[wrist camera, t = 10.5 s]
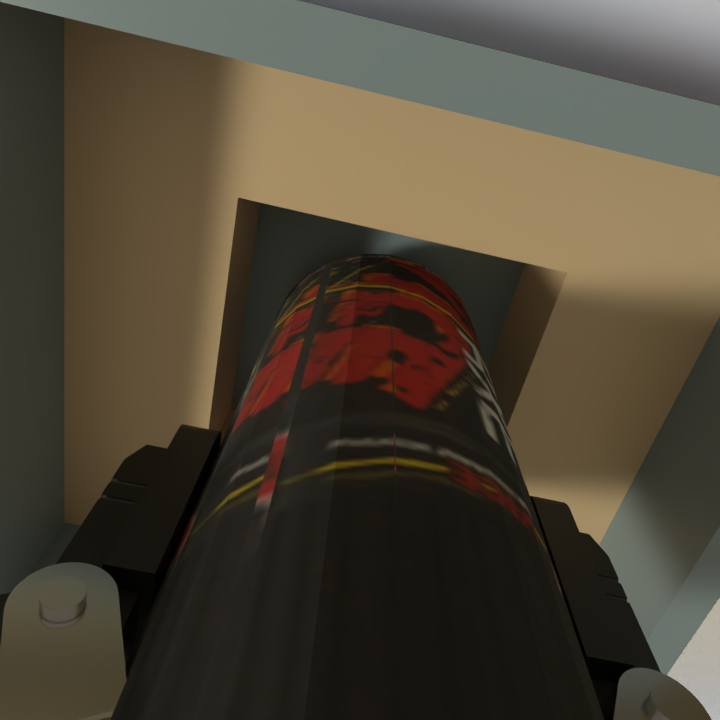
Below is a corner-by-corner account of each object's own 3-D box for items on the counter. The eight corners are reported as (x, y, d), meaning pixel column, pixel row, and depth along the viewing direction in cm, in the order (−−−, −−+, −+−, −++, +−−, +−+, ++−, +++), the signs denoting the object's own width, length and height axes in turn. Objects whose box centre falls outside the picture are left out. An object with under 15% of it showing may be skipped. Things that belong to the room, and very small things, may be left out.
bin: (744, 129, 17) (1005, 177, 10) (546, 545, 24) (614, 750, 17) (107, -30, 16) (-121, -105, 9) (94, 456, 23) (-38, 635, 16)
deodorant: (518, 339, 17) (989, 1319, 4) (385, 469, 19) (387, 1383, 6) (356, 208, 16) (188, 1051, 2) (231, 364, 18) (-225, 1265, 4)
